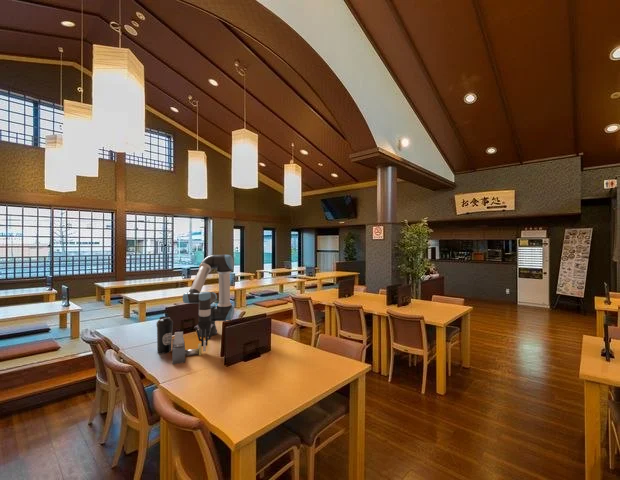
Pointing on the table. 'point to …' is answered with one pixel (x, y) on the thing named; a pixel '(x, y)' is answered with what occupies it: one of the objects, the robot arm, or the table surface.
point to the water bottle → (164, 335)
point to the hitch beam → (178, 353)
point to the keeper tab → (178, 338)
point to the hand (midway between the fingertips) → (204, 350)
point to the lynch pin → (194, 351)
